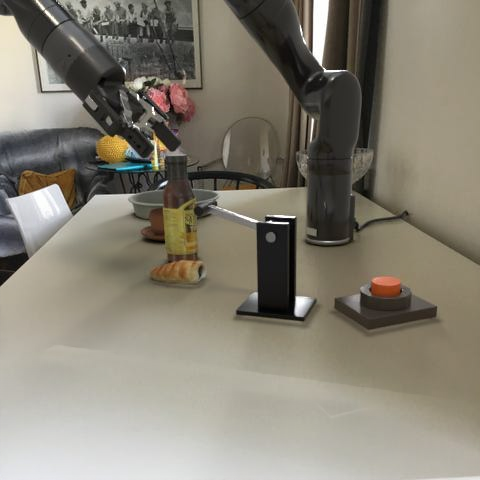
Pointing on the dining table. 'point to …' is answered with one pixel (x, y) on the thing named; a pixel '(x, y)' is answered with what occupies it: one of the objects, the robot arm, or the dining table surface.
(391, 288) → the ignition button
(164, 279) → the pastry
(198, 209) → the lever
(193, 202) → the sauce bottle
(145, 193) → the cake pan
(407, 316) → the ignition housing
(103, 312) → the dining table surface
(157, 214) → the cup and saucer
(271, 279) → the stand
